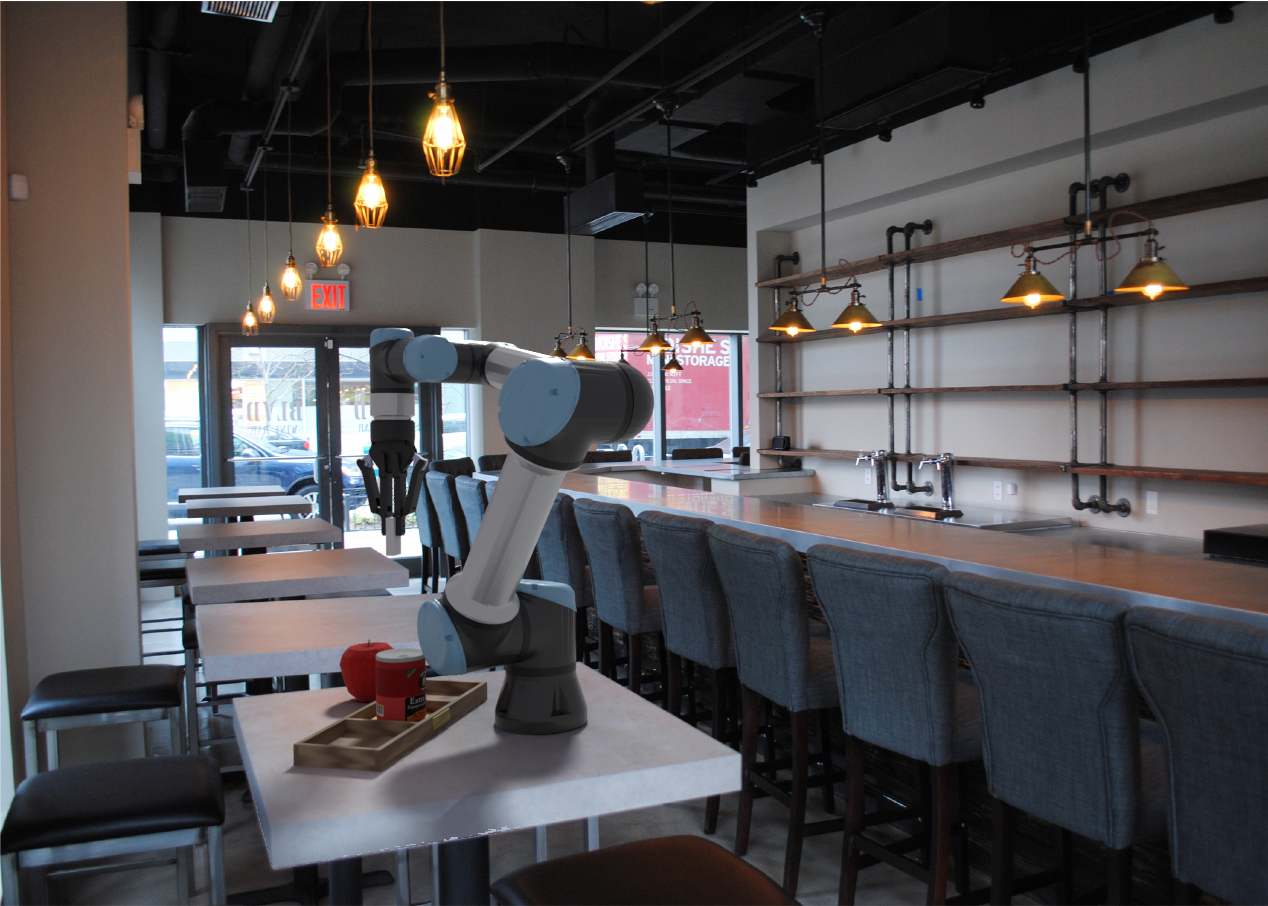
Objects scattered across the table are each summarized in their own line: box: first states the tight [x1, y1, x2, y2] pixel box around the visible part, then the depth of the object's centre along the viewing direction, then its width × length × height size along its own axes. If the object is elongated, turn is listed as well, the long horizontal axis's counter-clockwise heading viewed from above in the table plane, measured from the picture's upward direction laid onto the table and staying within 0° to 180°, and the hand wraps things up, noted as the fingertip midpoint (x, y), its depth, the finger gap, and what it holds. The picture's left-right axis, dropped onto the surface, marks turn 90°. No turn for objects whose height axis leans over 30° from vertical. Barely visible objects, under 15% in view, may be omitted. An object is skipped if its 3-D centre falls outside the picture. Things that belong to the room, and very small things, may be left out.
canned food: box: [376, 647, 427, 722], centre depth 154 cm, size 8×8×11 cm
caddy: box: [292, 678, 488, 773], centre depth 154 cm, size 14×39×3 cm, turn 167°
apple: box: [339, 639, 395, 703], centre depth 172 cm, size 10×10×11 cm
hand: (393, 554), depth 166 cm, fingers closed
